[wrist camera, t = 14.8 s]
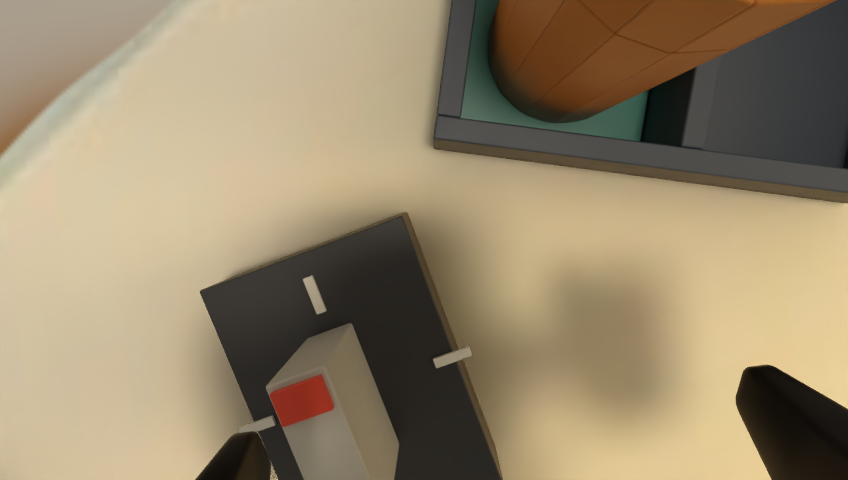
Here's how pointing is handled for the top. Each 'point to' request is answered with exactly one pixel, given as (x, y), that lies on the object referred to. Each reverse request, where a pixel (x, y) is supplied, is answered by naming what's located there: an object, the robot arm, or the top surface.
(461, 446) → the dial panel
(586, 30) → the amber jar
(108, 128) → the top surface
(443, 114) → the dark grey divided tray
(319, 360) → the grey long block
